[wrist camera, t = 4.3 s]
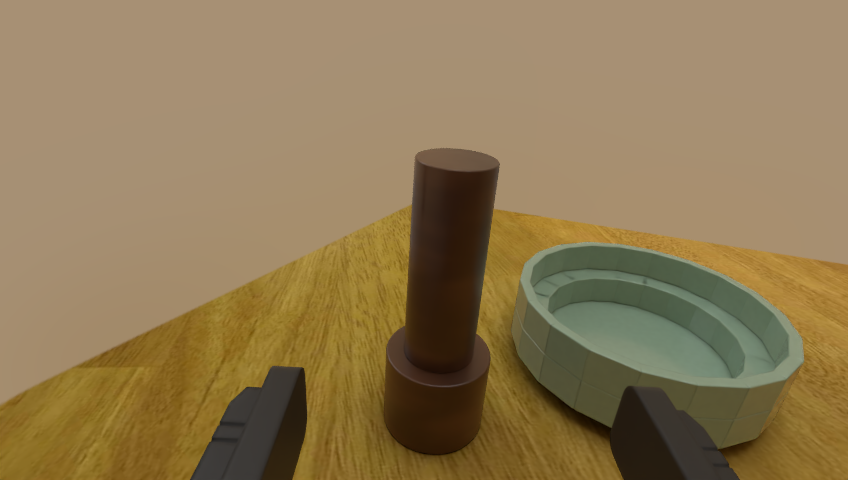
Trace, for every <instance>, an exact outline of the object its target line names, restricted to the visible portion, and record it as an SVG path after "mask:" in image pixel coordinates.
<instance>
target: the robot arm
mask: <svg viewBox="0 0 848 480" xmlns="http://www.w3.org/2000/svg"><path fill="white" fill-rule="evenodd" d="M306 424H307V402H306V385H305V371H304V368H302V367H283V366H272V367H271V369H270V370H269V372H268V375H267V377H266V379H265V381H264V384H263V386H262V388H259V387H246V388H245V389H244V390H243V391H242V392H241V393H240V394H239V395H238V396H237V397H235V398H234V399H233V400H232V401H231V402H230V403H229V405H228V407H227V409H226V411H225V413H224V415H223V417H222V419H221V421H220V425H219V426H218V427H217V429H216V431H215V432H214V434H213V436H212V441H211V442H209V444H208V446H207V448H206V450H205V452H204V454H203V456H202V458H201V460H200V462H199V464H198V466H197V467H196V469H195V471H194V473H193V475H192V477H191V479H190V480H292V479H293V475H294V472H295V468H296V465H297V461H298V458H299V454H300V451H301V448H302V444H303V441H304V437H305V431H306ZM610 444H611V450H612V453H613V456H614V459H615V461H616V463H617V466H618V468H619V470H620V472H621V475H622V477H623V479H624V480H740V479H739V478H738V476H737V475H736V473H735V472H734V470H733V469H732V468H729V463H728V462H727V460H726V459H725V457H724V456H723V455H722V453H721V452H720V451H718V450H717V448H718V447H717V446H716V445H715V443H714V442H713V440H712V439H711V437H710V436H709V434H708V433H707V432H706V430H705V429H704V427H702V426H701V425H700V424H699V423H698V422H697V421H695V420H694V419H693V418H692V417H691V416H690V415H688V414H687V413H686V412H685V411H684V410H676V408H675V407H674V405H673V403H672V402H671V400H670V399H669V397H668V396H667V394H666V393H665V392H664V390H663V389H661V388H659V387H643V386H627V387H626V388H625V390H624V392H623V395H622V398H621V401H620V404H619V407H618V410H617V413H616V416H615V419H614V422H613V425H612V428H611V433H610Z"/></svg>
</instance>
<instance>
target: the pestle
mask: <svg viewBox="0 0 848 480" xmlns="http://www.w3.org/2000/svg"><path fill="white" fill-rule="evenodd" d="M499 165H500V164H499V162H498V160H497V159H495V158H494V157H492V156H489V155H487V154H483V153H480V152H476V151H470V150H463V149H450V148H440V149H430V150H425V151H421V152H419V153H417V155H416V156H415V166H414V183H413V200H412V217H411V234H410V251H409V268H408V285H407V303H406V320H405V326H404V327H402V328H400V329H399V330H397V331H396V332H395V333H394V334H393V335H392V336H391V338H390V339H389V342H388V344H387V348H386V372H385V398H384V419H385V423H386V426H387V428H388V430H389V431H390V433H391V434H392V435H393V437H394V438H395V439H396V440H397V441H399V442H400V443H401V444H403V445H404V446H406V447H408V448H410V449H412V450H415V451H418V452H421V453H426V454H445V453H450V452H454V451H456V450H459V449H461V448H463V447H464V446H466V445H467V444H468V443H470V441H471V440H472V439H473V438H474V437H475V436H476V434H477V432H478V430H479V427H480V422H481V416H482V410H483V403H484V397H485V391H486V385H487V378H488V372H489V366H490V352H489V349H488V347H487V345H486V343H485V342H484V341H483V339H482V338H481V337H480V336H479V335H477V334H476V331H477V323H478V316H479V309H480V302H481V295H482V287H483V280H484V273H485V266H486V259H487V252H488V244H489V237H490V230H491V223H492V216H493V209H494V201H495V194H496V187H497V180H498V173H499Z"/></svg>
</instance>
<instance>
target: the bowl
mask: <svg viewBox="0 0 848 480" xmlns="http://www.w3.org/2000/svg"><path fill="white" fill-rule="evenodd" d="M511 332H512V336H513V339H514V343H515V346H516V350H517V353H518V356H519V357H520V359H521V360H522V361H523V363H524V364H525V365H526V367H527V368H528V369H529V371H530V372H531V373H532V375H533V376H534V377H535V378H536V380H537V381H538V382H539V383H540V384H542V385H543V386H544V387H546V388H547V389H548V390H549V391H551V392H552V393H553V394H554V395H556V396H557V397H558V398H560V399H561V400H562V401H563V402H565V403H566V404H567V405H569V406H570V407H571V408H573V409H575V410H576V411H578V412H580V413H582V414H584V415H586V416H588V417H590V418H592V419H594V420H596V421H598V422H600V423H602V424H604V425H606V426H608V427H610V428H612V425H613V422H614V419H615V416H616V413H617V410H618V407H619V404H620V401H621V398H622V395H623V392H624V390H625V388H626V387H627V386H643V387H659V388H661V389H663V390H664V392H665V393H666V394H667V396H668V397H669V399H670V400H671V402H672V403H673V405H674V407H675V408H676V410H684V411H685V412H686V413H687V414H688V415H690V416H691V417H692V418H693V419H694V420H695V421H697V422H698V423H699V424H700V425H701V426H702V427H704V429H705V430H706V432H707V433H708V434H709V436H710V437H711V439H712V440H713V442H714V443H715V445H716V446H717V447H718V448H717V449H722V448H726V447H729V446H733V445H736V444H740V443H743V442H747V441H750V440H754V439H756V438H757V437H758V436H759V435H760V434H761V433H762V432H763V431H764V430H765V429H766V427H767V426H768V425H769V424H770V423H771V422H772V421H773V420H774V418H775V416H776V414H777V413H778V411H779V409H780V407H781V405H782V403H783V401H784V399H785V397H786V395H787V394H788V391H789V390H790V388H791V386H792V384H793V382H794V380H795V378H796V376H797V375H798V373H799V371H800V369H801V367H802V365H803V363H804V353H803V341H802V337H801V336H800V335H799V333H798V332H797V331H796V329H795V328H794V326H793V325H792V324H791V322H790V321H789V319H788V318H787V317H786V316H785V315H784V314H783V313H782V312H781V311H780V310H778V309H777V308H776V307H775V306H773V305H772V304H771V303H770V302H768V301H767V300H766V299H764V298H763V297H762V296H761V295H759V294H758V293H757V292H755V291H753V290H751V289H750V288H748V287H746V286H744V285H742V284H741V283H739V282H737V281H735V280H734V279H732V278H730V277H728V276H726V275H724V274H722V273H719V272H717V271H714V270H712V269H709V268H707V267H704V266H702V265H699V264H697V263H695V262H692V261H689V260H686V259H683V258H679V257H676V256H673V255H669V254H666V253H662V252H659V251H655V250H654V251H653V250H651V249H645V248H639V247H634V246H628V245H623V244H612V243H595V242H583V243H572V244H561V245H558V246H555V247H552V248H548V249H545V250H542V251H540V252H538V253H537V254H535V255H534V256H533V257H532V258H531V259H529V260H528V261H527V262H526V263H525V264H524V267H523V271H522V274H521V278H520V283H519V288H518V294H517V299H516V306H515V311H514V316H513V322H512V327H511Z"/></svg>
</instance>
